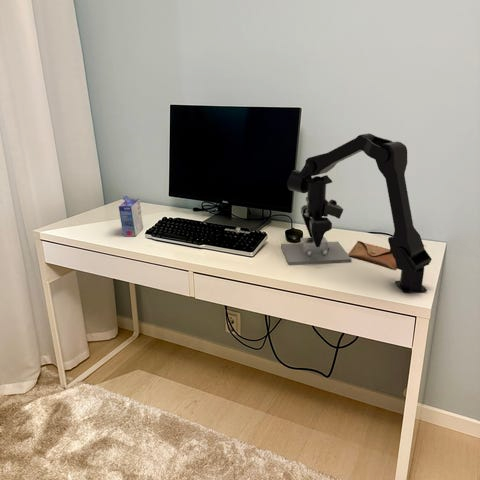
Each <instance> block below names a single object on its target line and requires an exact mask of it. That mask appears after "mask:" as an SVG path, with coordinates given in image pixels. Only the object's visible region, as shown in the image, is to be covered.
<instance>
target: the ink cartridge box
mask: <svg viewBox="0 0 480 480" xmlns="http://www.w3.org/2000/svg"><path fill="white" fill-rule="evenodd" d="M122 199H123V200H124V201H123V202H122V203H120V204H119V206H118V210H119V217H120V219H119V220H120V224H121V231H122V236H123V237H136V236H138V234H139V233H140V232H141V231H142V230H143V229H144V224H143V223H144V222H143V215H142V207H141V202H140V201H141V200H140V199H139V198H136V199H135V198H133V199H132V198H129V197H128V195H127V194H126V195H125V196H123V198H122Z"/></svg>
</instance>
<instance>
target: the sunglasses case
mask: <svg viewBox="0 0 480 480" xmlns="http://www.w3.org/2000/svg"><path fill="white" fill-rule="evenodd" d="M347 254H348V255H349V257H350V258H351V259H356V260H360V261H364V262H367V263H371V264H374V265H377V266H381V267H384V268H386V269H387V268H388V269H390V270H394V271H396V270H398V269H397V265H396V261H395V259H394V257H393V255H392V252H391V253H390V248H386V247H382V246H378V245H374V244H371V243H370V244H369V243H365V242H363V241H362V240H357V242H356V243H355V244H354V246H353V247H352V249H351V250H350V251H349V252H348V253H347Z"/></svg>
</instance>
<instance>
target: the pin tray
mask: <svg viewBox="0 0 480 480" xmlns="http://www.w3.org/2000/svg"><path fill="white" fill-rule="evenodd" d="M280 247H281V250H282V252H283V253H282V254H284V258H285V260H286V262H287V265H288V266H292V265H293V266H294V265H295V266H297V265H317V264H319V265H320V264H340V263H352V258H351V257H349V255H348V254H349V253H348V252H347V251H346V250H345V249H344V248H343V246H342V245H341V243H340V242H339V241H328V247H329V251H328V254H327V251H326V250H324V251H323V254H311V251H308V254H307V255H303V253H302V251H301V249H300V248H301V242H296V243H281V245H280Z"/></svg>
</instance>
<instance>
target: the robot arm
mask: <svg viewBox="0 0 480 480" xmlns="http://www.w3.org/2000/svg"><path fill="white" fill-rule="evenodd" d="M360 152H363V153H364V154H365V155H366V156H368V157H369V158H372V159H373V160H375V163H376V166H377V169H378V170H379V172H380V173H381V174H382V176H383V177H384V179H385V183H386V189H387V194H388V199H389V201H388V202H389V205H390V210H391V217H392V222H393V228H394V232H393V235H391V236H389V237H388V238H387V242H388V244H389V249H390V253H391V252H392V255H393V257H394V259H395V261H396V265H397V270H399V271H400V278H399V280H395V282H394V283H395V285H396V286H397V287H398V288H399V289H400V290H401V291H402V292H403V294H404V293H407V294H409V293H426V292H427V291H428V289H427V288H426V287H425V286H424V285H423V281H424V275H425V267H426V266H429V265H430V263H431V262H432V257H431V256H430V255H429V253H428V251H426V249H425V246H424V243H423V239H422V238H421V234H420V233H419V232H418V231H417V229H416V228H415V226H414V221H413V216H412V210H411V206H410V200H409V199H410V198H409V193H408V188H407V181H406V177H405V173H406V169H407V165H408V148H407V146H406V145H405V144H404V143H402V141H392V140H389V139H386V138H382V137H379V136H376V135H374V134H372V133H364V134H359V135H357V136H356V137H355V138H352V139H351V140H349V141H347V142H346V143H343V144H342V145H340V146H338V147H336V148H334V149H332V150H330V151H328V152H326V153H322V154H317V155H314V156H309V157H307V158H306V160H305V164H304V166H303V167H302V169H301V171H300V170H298V169H295V170H291V174H290V175H289V177H288V178H287V181H286V186H287V189H288V190H289V191H292V192H297V193H302V194H307V195H306V197H305V201H306V205H305V204H304V205H303V206H302V207H301V209H300V214H301V217H302V219H303V221H304V225H305V227H306V229H307V232H308V235H309V238H310V237H313V239H314V242H315V245H316V247H320V244H321V241H322V239H323V237H325V236H324V235H325V234H326V233H327V232H329V231H330V230H332V229H333V223H332V221H331V220H330V219H329V218H328V217H329V216H331V217H335V218H336V219H341V217H342V214H343V213H344V208H343V207H342V206H340V205H339V204H337V201H336V200H334V199H330V200H329V201H328V200H327V199H326V197H327V196H326V195H327V185H329V184H332V183H333V180H332V179H331V178H330V177H329V175H328V174H327V173H328V172H329V171H331V170H332V169H333V168H335V167H336V165H337V164H338V163H341V162H343V161H344V160H346V159H348V158H350V157H352V156H354V155H356V154H359V153H360ZM323 174H325V175H323ZM320 175H322V176H320Z"/></svg>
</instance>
